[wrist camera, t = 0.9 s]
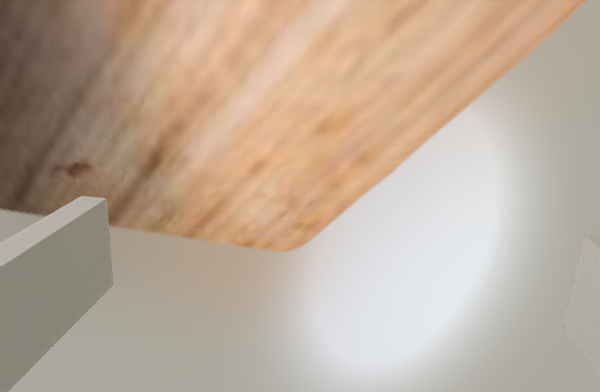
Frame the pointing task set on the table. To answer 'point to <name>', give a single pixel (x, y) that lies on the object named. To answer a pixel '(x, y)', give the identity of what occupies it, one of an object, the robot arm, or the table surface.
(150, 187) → the table surface
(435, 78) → the table surface
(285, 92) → the table surface
